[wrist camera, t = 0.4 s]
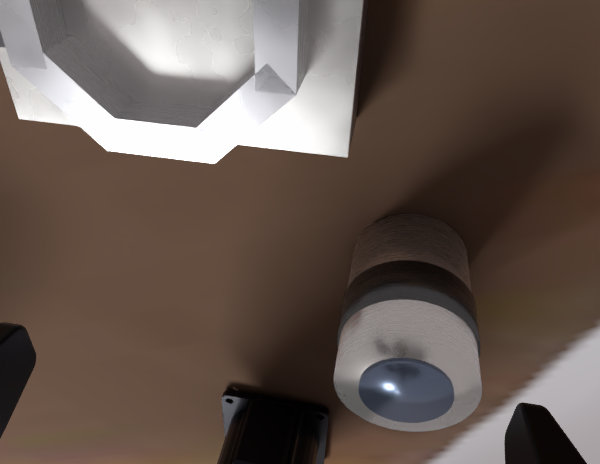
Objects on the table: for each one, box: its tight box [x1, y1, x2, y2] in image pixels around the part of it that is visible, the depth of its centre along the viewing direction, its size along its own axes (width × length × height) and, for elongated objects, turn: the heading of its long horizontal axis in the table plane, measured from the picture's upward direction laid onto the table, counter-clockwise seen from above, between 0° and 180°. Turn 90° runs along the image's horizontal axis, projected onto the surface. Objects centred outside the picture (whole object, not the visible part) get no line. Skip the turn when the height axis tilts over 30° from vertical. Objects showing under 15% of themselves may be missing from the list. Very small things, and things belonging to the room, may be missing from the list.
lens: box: [334, 214, 482, 432], centre depth 21 cm, size 5×5×7 cm
